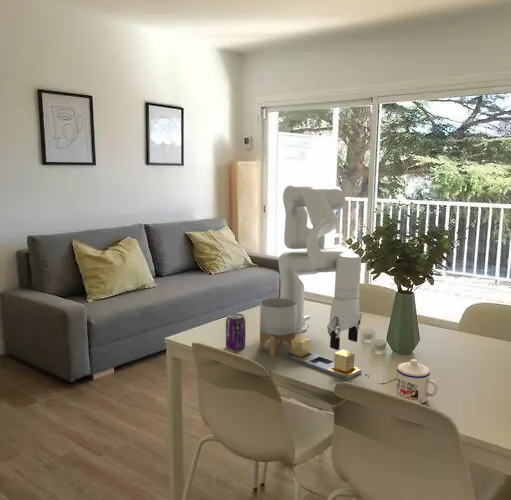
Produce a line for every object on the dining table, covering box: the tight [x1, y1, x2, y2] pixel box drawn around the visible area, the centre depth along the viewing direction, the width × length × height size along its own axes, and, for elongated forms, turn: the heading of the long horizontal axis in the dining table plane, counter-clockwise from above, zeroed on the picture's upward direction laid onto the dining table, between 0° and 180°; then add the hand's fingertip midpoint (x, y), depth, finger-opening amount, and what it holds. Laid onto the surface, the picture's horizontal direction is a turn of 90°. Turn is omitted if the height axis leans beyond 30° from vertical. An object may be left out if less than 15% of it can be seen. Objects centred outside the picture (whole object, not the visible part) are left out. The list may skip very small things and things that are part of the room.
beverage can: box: [225, 313, 246, 351], centre depth 184 cm, size 7×7×12 cm
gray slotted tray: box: [283, 350, 362, 381], centre depth 169 cm, size 8×26×2 cm, turn 45°
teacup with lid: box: [395, 358, 439, 404], centre depth 145 cm, size 12×9×12 cm
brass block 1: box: [290, 335, 311, 359], centre depth 175 cm, size 4×4×6 cm
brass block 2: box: [333, 349, 355, 374], centre depth 163 cm, size 4×4×6 cm
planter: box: [259, 297, 297, 357], centre depth 181 cm, size 13×13×18 cm
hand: (343, 344), depth 162 cm, fingers open, 9 cm apart
